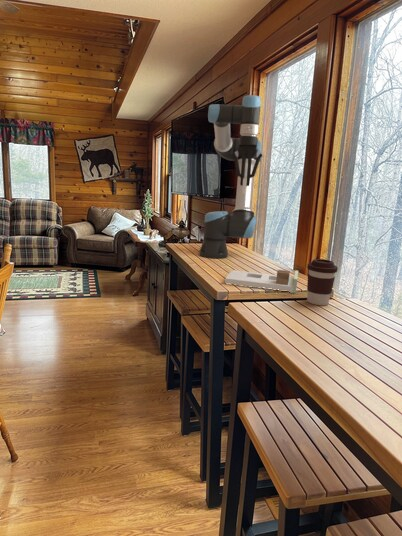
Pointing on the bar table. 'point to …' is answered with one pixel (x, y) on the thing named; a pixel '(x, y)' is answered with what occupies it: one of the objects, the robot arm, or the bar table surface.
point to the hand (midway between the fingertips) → (244, 193)
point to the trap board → (260, 280)
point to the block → (282, 277)
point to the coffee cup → (320, 281)
